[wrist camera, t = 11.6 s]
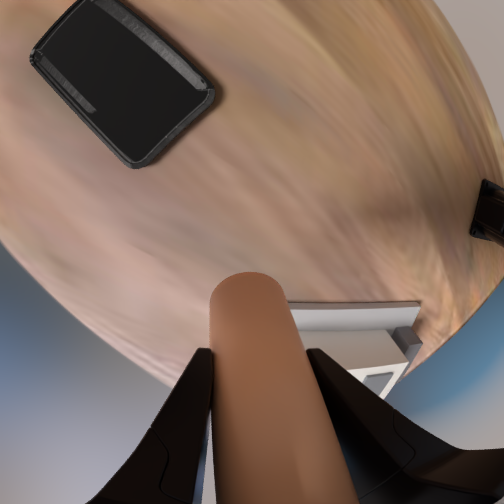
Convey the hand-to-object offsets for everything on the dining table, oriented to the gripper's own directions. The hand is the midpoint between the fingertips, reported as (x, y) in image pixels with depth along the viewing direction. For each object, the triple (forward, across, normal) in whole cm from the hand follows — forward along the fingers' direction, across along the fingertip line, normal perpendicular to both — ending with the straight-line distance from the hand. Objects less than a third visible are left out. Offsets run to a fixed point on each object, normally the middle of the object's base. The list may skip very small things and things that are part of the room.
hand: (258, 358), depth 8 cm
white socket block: (+12, -10, +12) cm, 19 cm away
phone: (+14, +10, -11) cm, 20 cm away
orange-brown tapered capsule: (+3, 0, 0) cm, 3 cm away
